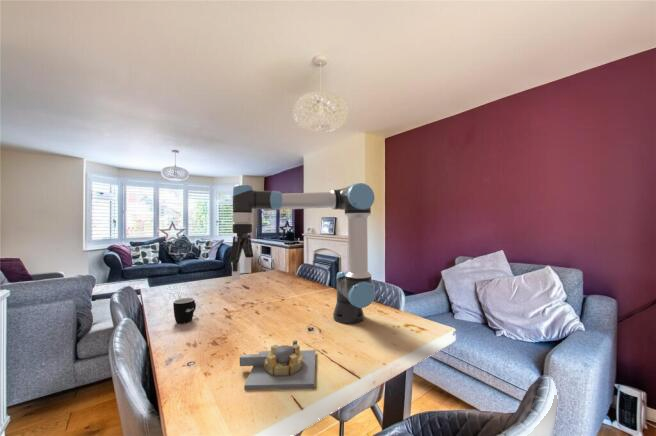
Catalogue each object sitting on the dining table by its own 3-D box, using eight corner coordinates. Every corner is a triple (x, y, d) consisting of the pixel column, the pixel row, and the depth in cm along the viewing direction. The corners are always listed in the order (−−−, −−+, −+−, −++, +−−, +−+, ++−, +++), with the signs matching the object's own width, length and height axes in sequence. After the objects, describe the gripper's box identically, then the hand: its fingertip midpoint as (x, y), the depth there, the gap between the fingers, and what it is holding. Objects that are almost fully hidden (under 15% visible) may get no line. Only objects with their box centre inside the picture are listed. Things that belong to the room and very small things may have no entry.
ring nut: (303, 355, 93) (303, 342, 93) (301, 375, 81) (301, 360, 81) (245, 356, 93) (245, 343, 93) (234, 376, 81) (234, 361, 81)
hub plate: (315, 353, 97) (315, 335, 97) (314, 387, 77) (314, 365, 77) (259, 354, 97) (259, 336, 97) (244, 389, 77) (244, 367, 77)
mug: (185, 325, 123) (185, 303, 123) (168, 324, 125) (168, 302, 125) (202, 316, 135) (202, 296, 135) (187, 315, 137) (187, 295, 137)
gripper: (243, 223, 121) (243, 270, 121) (220, 223, 96) (219, 283, 96) (260, 223, 121) (260, 270, 120) (240, 223, 96) (240, 283, 95)
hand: (242, 276), depth 108 cm, fingers open, 13 cm apart
